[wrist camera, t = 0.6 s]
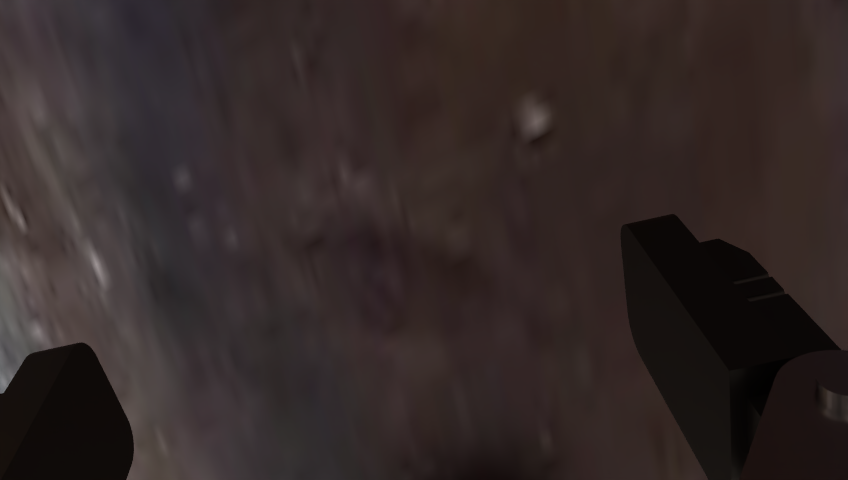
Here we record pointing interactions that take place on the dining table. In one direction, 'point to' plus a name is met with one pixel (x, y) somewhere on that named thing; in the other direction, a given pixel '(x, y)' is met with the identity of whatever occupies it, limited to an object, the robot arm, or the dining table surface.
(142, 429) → the dining table surface
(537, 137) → the dining table surface
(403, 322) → the dining table surface
